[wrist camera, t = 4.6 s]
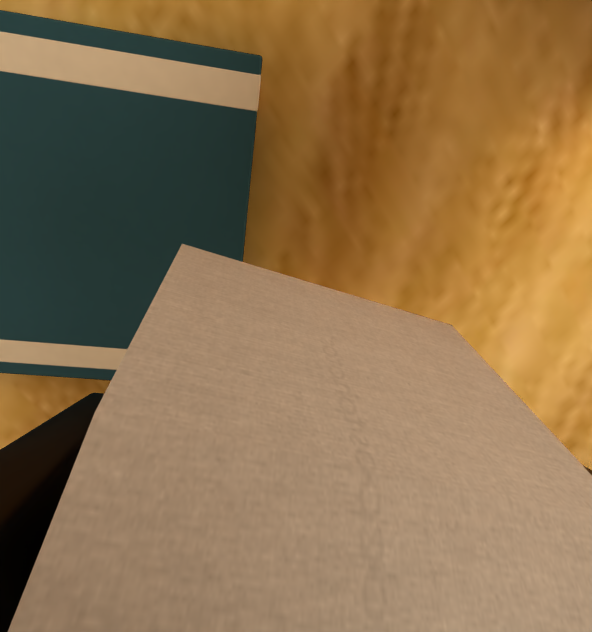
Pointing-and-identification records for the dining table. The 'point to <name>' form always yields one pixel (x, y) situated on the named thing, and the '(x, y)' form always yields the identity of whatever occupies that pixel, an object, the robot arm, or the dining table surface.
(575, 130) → the dining table surface
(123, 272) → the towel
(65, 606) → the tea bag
